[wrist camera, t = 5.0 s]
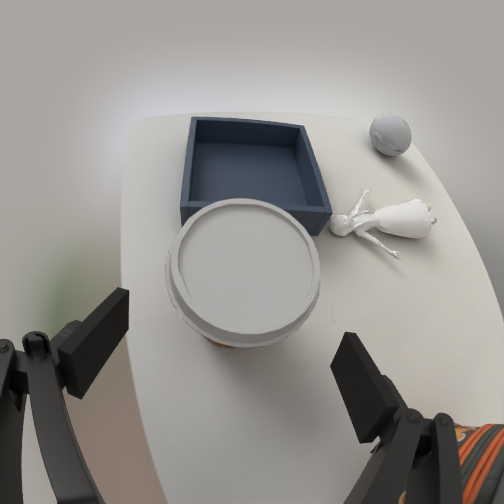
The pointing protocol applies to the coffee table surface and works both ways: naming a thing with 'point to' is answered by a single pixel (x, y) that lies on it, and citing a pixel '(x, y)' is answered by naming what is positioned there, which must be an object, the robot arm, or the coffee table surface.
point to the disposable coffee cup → (243, 273)
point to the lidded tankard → (479, 464)
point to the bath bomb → (390, 134)
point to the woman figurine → (386, 221)
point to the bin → (253, 168)
